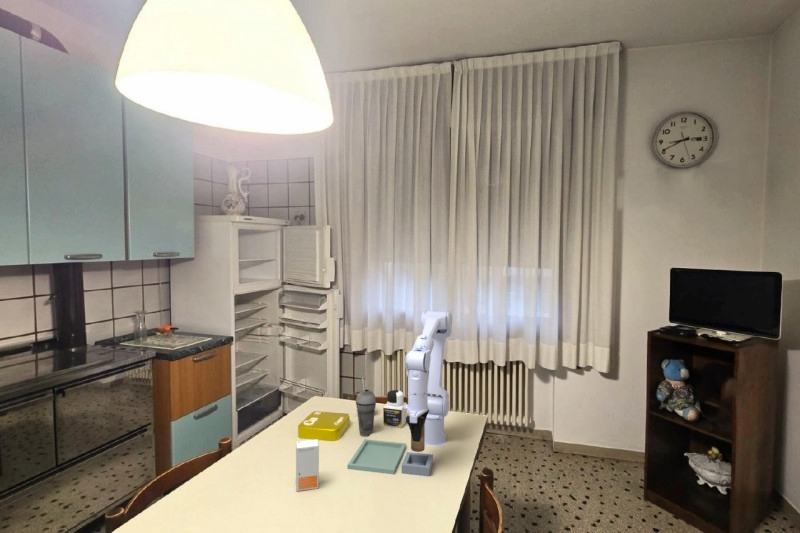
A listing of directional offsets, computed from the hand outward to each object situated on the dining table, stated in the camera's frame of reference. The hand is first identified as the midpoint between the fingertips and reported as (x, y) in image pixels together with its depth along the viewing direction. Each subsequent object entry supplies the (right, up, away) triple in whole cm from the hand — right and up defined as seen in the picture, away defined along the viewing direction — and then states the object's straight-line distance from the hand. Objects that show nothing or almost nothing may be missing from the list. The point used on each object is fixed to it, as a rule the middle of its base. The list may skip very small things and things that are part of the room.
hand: (417, 437), depth 123 cm
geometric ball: (-19, -8, +41) cm, 46 cm away
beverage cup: (-17, -9, +25) cm, 31 cm away
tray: (-12, -9, +7) cm, 17 cm away
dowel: (0, -3, 0) cm, 3 cm away
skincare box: (-31, -10, -8) cm, 33 cm away
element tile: (-32, -9, +27) cm, 43 cm away
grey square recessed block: (0, -10, 0) cm, 10 cm away
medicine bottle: (-7, -9, +34) cm, 35 cm away
